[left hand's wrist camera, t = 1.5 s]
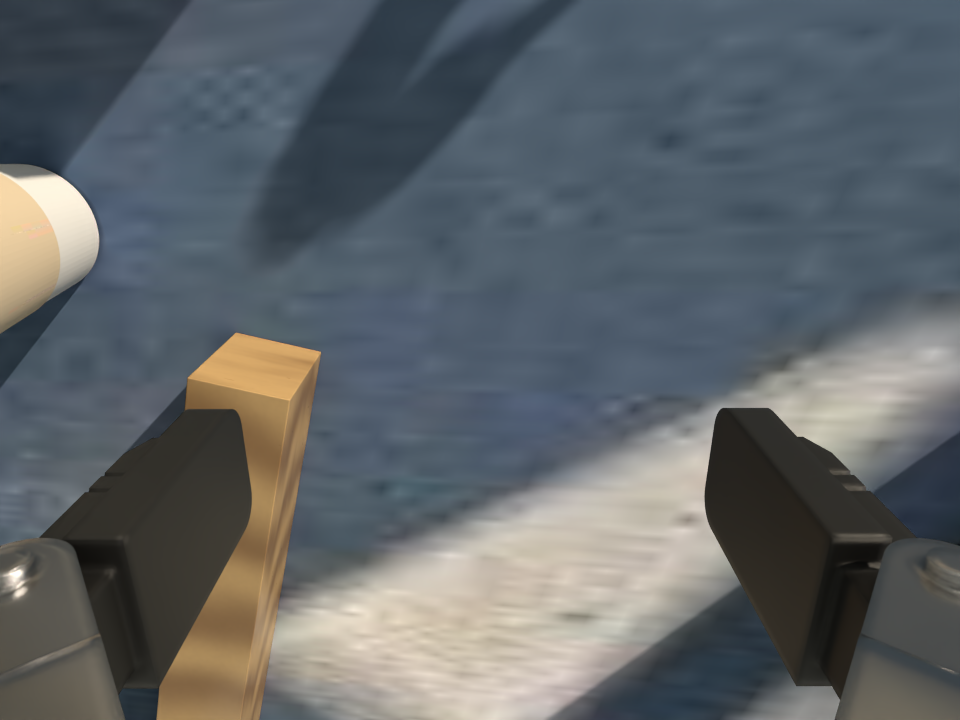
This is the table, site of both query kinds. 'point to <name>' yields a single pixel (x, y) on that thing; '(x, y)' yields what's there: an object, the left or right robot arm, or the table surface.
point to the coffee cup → (40, 239)
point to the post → (263, 546)
